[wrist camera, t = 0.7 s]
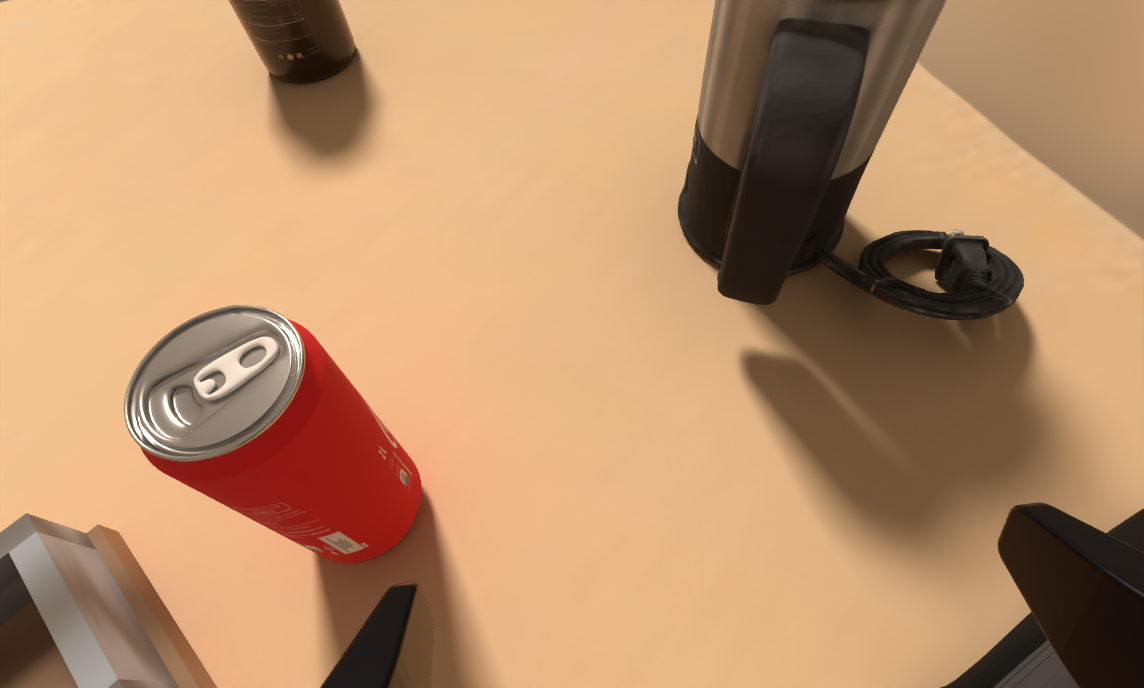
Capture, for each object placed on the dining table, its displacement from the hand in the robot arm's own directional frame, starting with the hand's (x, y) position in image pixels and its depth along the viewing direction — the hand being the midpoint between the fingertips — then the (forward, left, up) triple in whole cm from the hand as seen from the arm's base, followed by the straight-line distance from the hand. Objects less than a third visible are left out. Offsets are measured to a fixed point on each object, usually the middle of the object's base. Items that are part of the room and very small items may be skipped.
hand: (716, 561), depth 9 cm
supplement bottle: (+27, +37, -16) cm, 49 cm away
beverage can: (0, +13, -16) cm, 21 cm away
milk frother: (+23, -2, -16) cm, 28 cm away
